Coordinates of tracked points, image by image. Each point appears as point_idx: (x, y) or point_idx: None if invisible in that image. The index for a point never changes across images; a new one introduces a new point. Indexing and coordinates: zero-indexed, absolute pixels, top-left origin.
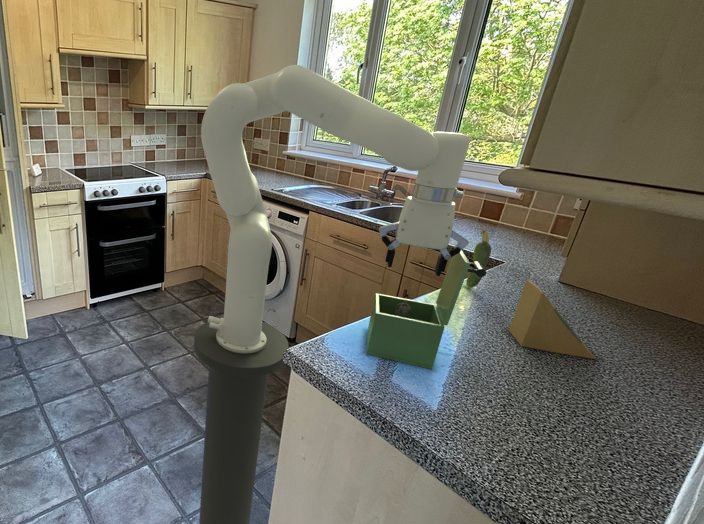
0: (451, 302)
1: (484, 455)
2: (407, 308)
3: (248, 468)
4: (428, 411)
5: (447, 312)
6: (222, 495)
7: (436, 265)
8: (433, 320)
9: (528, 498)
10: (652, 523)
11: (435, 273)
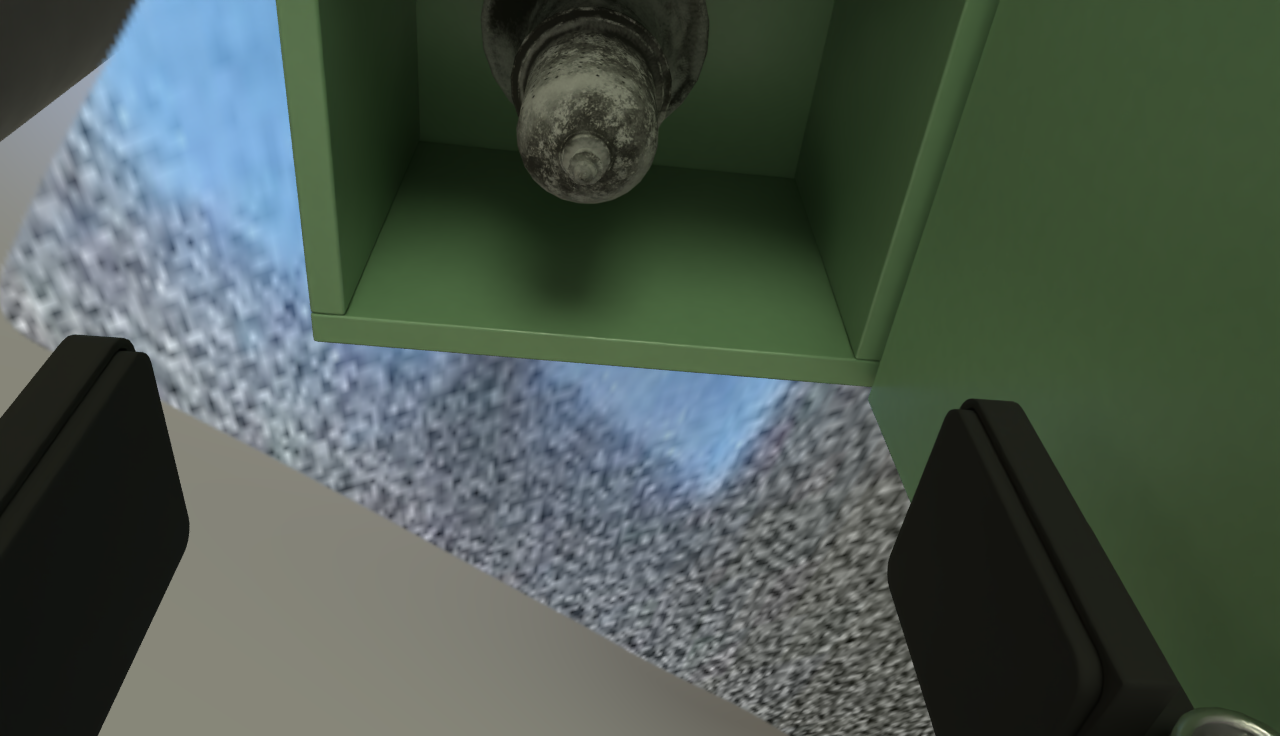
0: None
1: (808, 635)
2: (614, 197)
3: None
4: (678, 511)
5: (904, 481)
6: None
7: (982, 513)
8: (907, 61)
9: (858, 719)
10: None
11: (911, 502)
